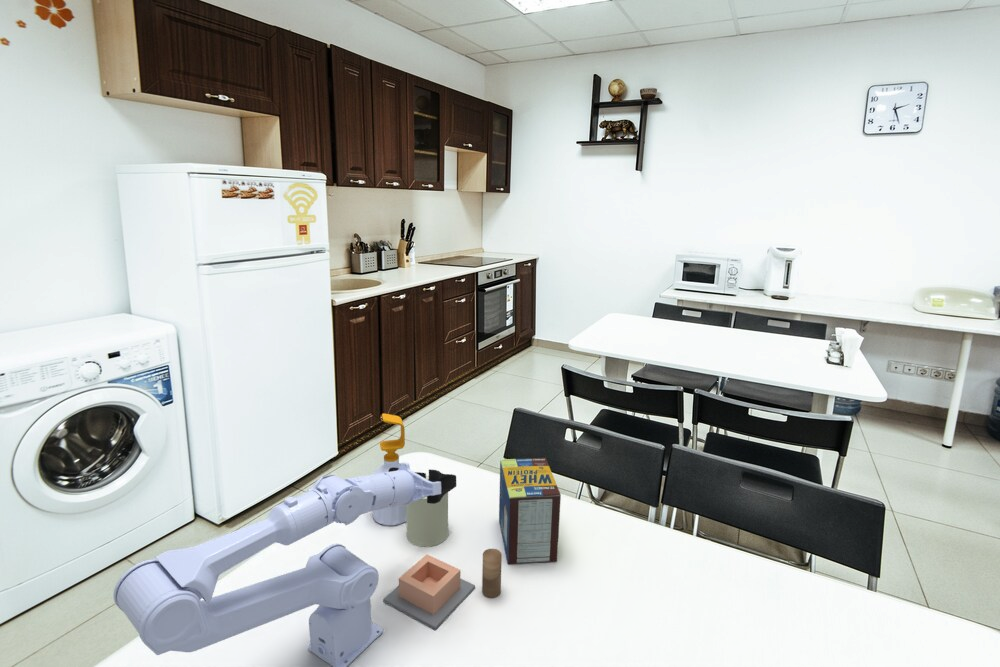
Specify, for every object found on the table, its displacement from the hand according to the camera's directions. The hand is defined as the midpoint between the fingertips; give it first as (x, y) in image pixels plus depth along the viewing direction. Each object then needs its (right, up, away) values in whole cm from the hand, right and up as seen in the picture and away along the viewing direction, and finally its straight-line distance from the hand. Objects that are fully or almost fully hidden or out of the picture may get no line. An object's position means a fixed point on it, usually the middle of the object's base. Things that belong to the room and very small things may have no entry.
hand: (439, 479), depth 100 cm
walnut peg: (+10, -21, 0) cm, 23 cm away
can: (-4, -16, +17) cm, 24 cm away
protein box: (+17, -17, +15) cm, 29 cm away
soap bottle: (-13, -15, +23) cm, 30 cm away
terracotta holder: (-2, -21, -1) cm, 21 cm away
